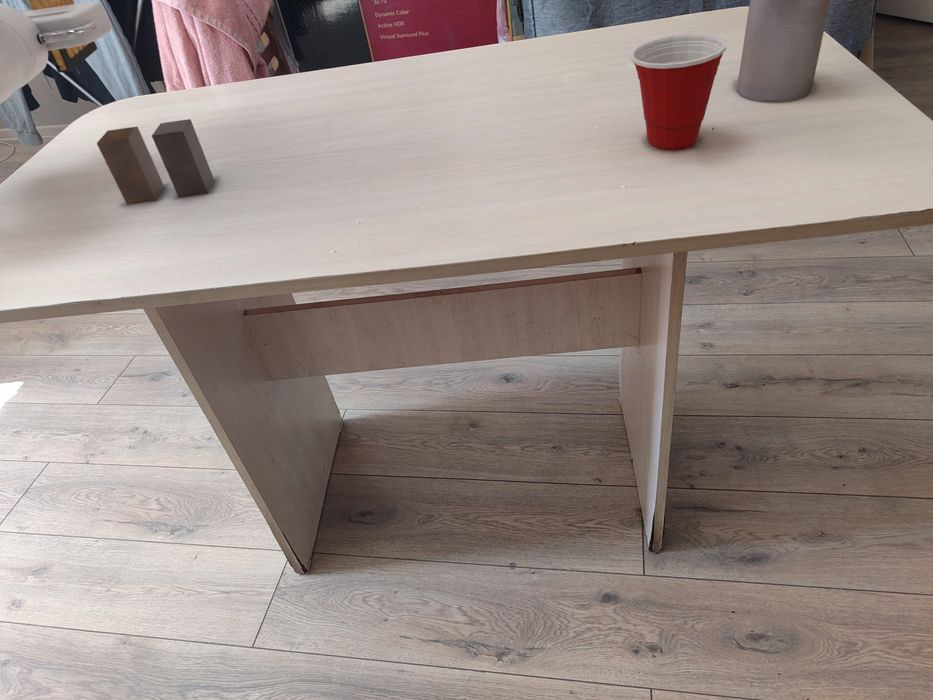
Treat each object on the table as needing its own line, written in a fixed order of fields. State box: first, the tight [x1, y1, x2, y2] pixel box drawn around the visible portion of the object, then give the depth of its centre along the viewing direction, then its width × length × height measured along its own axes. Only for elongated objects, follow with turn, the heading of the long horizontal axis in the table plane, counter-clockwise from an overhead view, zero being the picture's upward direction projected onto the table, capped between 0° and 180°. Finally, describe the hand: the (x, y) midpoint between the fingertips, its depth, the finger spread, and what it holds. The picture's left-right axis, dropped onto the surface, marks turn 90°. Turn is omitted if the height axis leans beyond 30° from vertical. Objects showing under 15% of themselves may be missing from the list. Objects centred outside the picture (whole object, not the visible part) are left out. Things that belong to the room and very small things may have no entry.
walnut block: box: [96, 126, 165, 206], centre depth 89 cm, size 4×4×9 cm
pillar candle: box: [736, 0, 832, 103], centre depth 90 cm, size 10×10×15 cm
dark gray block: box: [151, 118, 215, 199], centre depth 88 cm, size 4×4×9 cm
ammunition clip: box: [27, 0, 99, 74], centre depth 95 cm, size 11×2×12 cm, turn 4°
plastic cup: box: [629, 33, 728, 152], centre depth 82 cm, size 11×11×12 cm
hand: (49, 15), depth 93 cm, fingers closed on ammunition clip, 2 cm apart
